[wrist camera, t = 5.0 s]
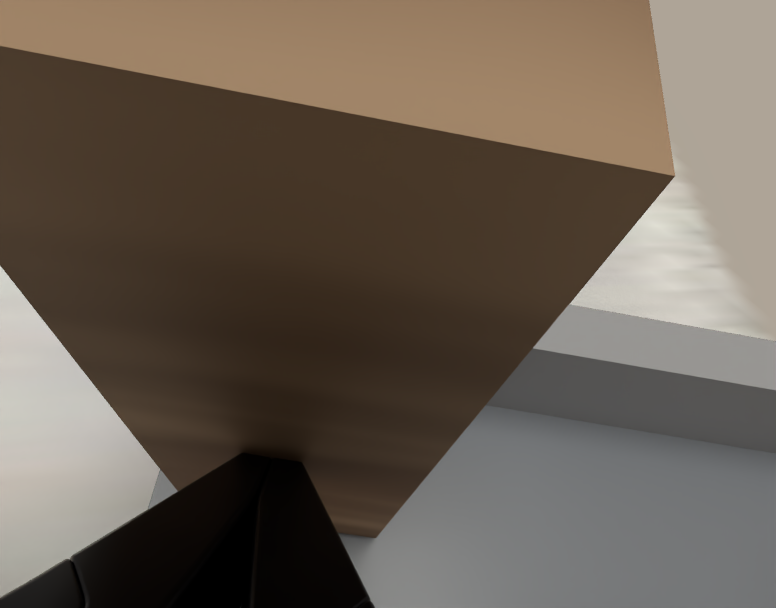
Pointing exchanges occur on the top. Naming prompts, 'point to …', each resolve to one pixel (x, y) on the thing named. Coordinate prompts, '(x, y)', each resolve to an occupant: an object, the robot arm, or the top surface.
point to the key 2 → (318, 212)
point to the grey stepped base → (597, 480)
